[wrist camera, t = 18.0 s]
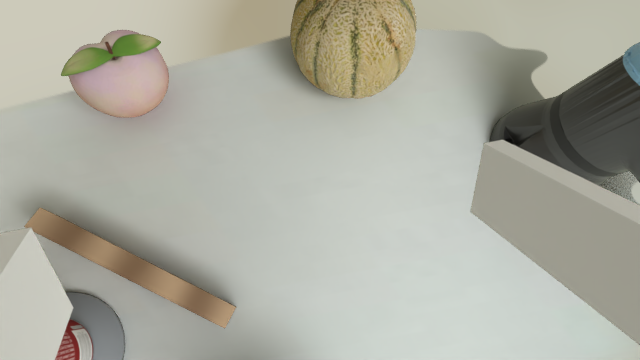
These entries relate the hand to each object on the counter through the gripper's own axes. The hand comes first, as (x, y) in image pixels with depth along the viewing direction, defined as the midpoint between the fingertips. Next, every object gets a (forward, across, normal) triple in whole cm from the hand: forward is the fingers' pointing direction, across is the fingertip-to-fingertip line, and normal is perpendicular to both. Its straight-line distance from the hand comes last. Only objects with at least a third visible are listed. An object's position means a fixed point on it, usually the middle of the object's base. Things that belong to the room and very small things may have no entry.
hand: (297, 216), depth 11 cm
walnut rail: (+23, -11, -19) cm, 32 cm away
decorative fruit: (+37, -10, -5) cm, 39 cm away
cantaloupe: (+38, +16, -5) cm, 42 cm away
